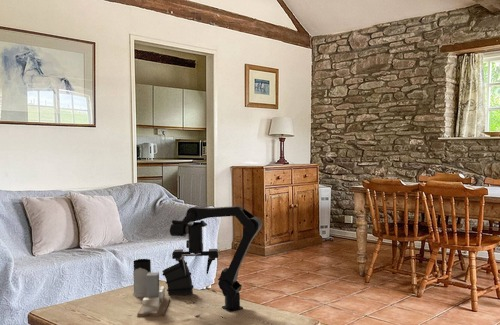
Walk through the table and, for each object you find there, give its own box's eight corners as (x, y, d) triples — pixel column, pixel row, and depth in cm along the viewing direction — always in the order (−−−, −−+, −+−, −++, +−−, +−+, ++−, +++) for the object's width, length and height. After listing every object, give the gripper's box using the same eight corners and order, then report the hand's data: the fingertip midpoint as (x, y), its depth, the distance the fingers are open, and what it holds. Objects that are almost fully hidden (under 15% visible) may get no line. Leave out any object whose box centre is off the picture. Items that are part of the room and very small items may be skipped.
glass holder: (130, 296, 213) (129, 263, 212) (138, 287, 227) (138, 255, 227) (150, 296, 213) (149, 263, 212) (157, 287, 227) (156, 255, 226)
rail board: (169, 299, 208) (169, 285, 208) (163, 316, 188) (162, 300, 188) (146, 300, 208) (146, 285, 208) (137, 316, 188) (137, 300, 188)
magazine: (197, 292, 213) (183, 261, 213) (172, 303, 215) (157, 273, 216) (200, 289, 216) (185, 259, 217) (174, 301, 219) (160, 271, 219)
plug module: (159, 303, 197) (159, 272, 197) (158, 307, 193) (157, 275, 192) (148, 304, 197) (147, 272, 197) (146, 307, 193) (145, 275, 192)
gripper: (218, 233, 208) (219, 269, 208) (175, 233, 207) (175, 269, 207) (217, 238, 196) (218, 275, 197) (171, 238, 196) (172, 276, 196)
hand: (195, 274), depth 200 cm, fingers open, 9 cm apart
